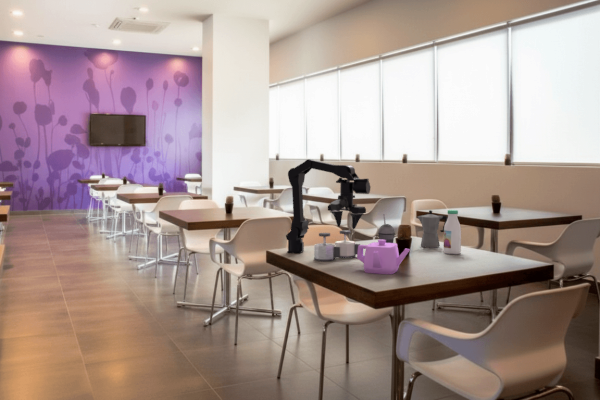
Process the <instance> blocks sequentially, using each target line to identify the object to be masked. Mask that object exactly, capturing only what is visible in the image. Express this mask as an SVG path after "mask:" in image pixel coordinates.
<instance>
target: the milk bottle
mask: <svg viewBox="0 0 600 400" xmlns="http://www.w3.org/2000/svg"><path fill="white" fill-rule="evenodd" d="M458 214H459V210H457V209H449V210H447V218H448V219H447V221H446V223H445V222H444V223H445V226H444V225H443V226H444V232H443V253H444V254H447V255H460V254H461V253H462V252H461V251H462V227H461V224H460V221H459V219H458Z"/></svg>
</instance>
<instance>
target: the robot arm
mask: <svg viewBox="0 0 600 400" xmlns="http://www.w3.org/2000/svg"><path fill="white" fill-rule="evenodd" d="M312 169H313V170H318V171H323V172H326V173H330V174H334V175H335V176H337V177H339V178H338V179H337V180H336V181H335V183H336V184H340V188H339V189H340V191H339V193H340V194H339V195H338V196H337V199H335V200H333V201H331V202H330V204H328V206H327V211H329V213H331V214H332V215H333V217H334V219H335V222H336V225H337V227H338V228H340V227H341V224H342V217H343V211H346V212H347V211H348V212H351V213H350V216H351V218H352V219H351V221H352V222H351V223H352V224H351V226H352V230H354V229H355V230H356V227H357V225H358V223H359V222H360V219H361V217H362V216H364V214H367V209H366V206H361V205H355V204H354V198H356V195H355V194H358V195H362V194H363V195H369V194H370V193H371V183H370V180H369V178H360V177H359V176H358V174H357V172H356V169H355V167H354V166H353V165H350V164H334V163H333V164H332V163H329V162H323V161H319V160H314V159H311V158H310V159H306V160H305V161H304V162H301V163H300V164H299V165H297V166H295V167H292V168H290V169H289V170H288V172H287V177H288V182H289V183H290V186H291V192H292V213H293V214H292V215H293V217H292V218H293V219H292V221H291V223H290V230H289V232H288V233H287V234H286V235H285V238H286V240H287V241H288V242H287V247H288V248H287V249H288V251H286V253H291V254H301V253H303V252H305V251H304V250H305V246H304V245H305V244H304V243H305V242H304V238H305V236H306V234H307V233H308V231H309V228H310V227H309V220H308V219H307V220H306V219H305V216H304V199H303V198H304V197H303V196H304V195H303V186H304V183H305V177H306V175H307V174H308V173H309V172H310V171H311V170H312ZM354 192H355V193H354Z"/></svg>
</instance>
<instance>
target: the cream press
mask: <svg viewBox="0 0 600 400" xmlns="http://www.w3.org/2000/svg"><path fill="white" fill-rule="evenodd" d="M334 243H335V244H334V245H335V247H340V258H339V259H354V258H357V253H358V246H359V245H361V243H356V241H354V240H346V243H345V242H344V240H337V241H335V242H334ZM353 257H354V258H353Z"/></svg>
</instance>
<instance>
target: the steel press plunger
mask: <svg viewBox="0 0 600 400" xmlns="http://www.w3.org/2000/svg"><path fill="white" fill-rule="evenodd" d="M318 237H323V238H322V239H323V241H322V243H323V245H326V243H327V237H331V233H330V232H318Z"/></svg>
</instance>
